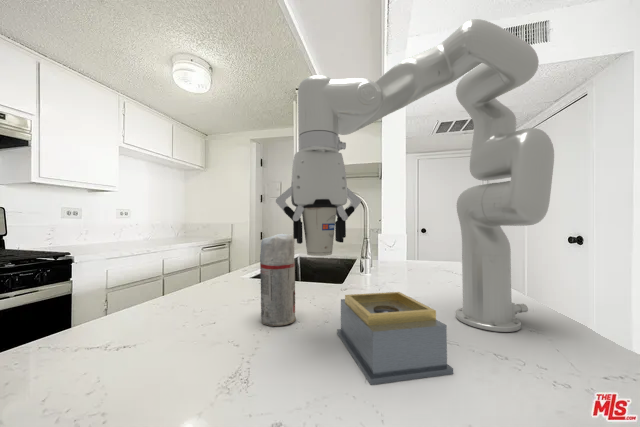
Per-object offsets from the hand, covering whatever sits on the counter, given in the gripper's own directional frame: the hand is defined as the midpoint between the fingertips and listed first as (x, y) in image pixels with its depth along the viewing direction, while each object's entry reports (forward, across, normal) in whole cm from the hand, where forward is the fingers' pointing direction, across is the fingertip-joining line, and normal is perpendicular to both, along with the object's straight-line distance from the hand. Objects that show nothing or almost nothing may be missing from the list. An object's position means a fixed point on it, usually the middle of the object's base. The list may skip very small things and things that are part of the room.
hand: (319, 241), depth 48 cm
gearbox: (+19, -11, +4) cm, 23 cm away
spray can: (+19, +7, -14) cm, 25 cm away
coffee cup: (+3, 0, 0) cm, 3 cm away
